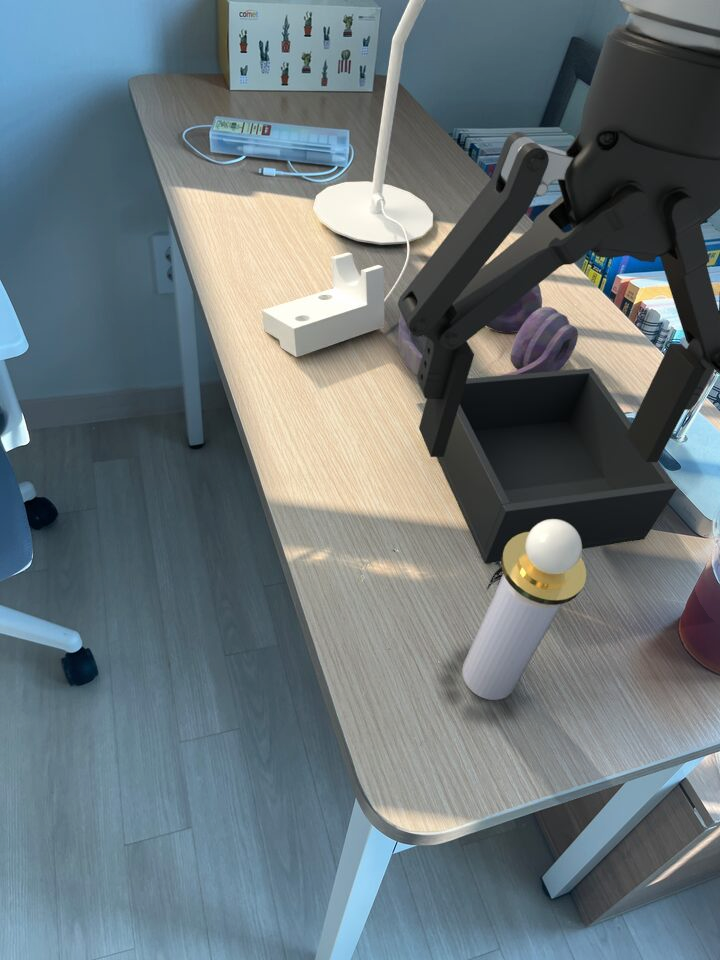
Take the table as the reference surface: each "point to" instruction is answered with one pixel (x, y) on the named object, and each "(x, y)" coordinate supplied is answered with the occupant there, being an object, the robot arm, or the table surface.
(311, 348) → the bracket
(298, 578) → the table surface
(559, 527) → the perfume bottle
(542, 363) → the headphones
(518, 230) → the table surface
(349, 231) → the desk lamp
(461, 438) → the bin
